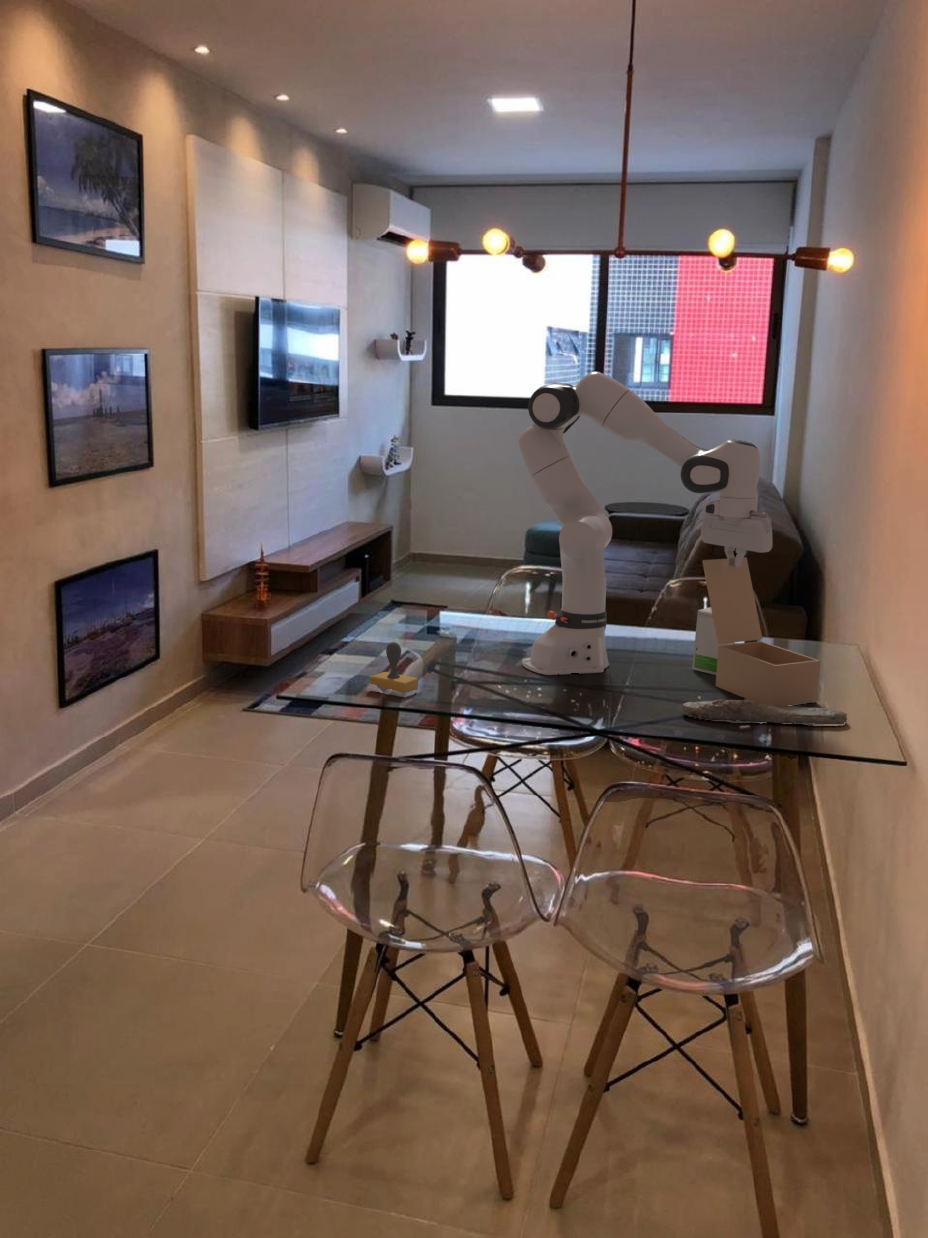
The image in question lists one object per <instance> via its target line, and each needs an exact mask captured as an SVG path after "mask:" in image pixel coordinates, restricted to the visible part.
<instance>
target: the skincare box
mask: <svg viewBox="0 0 928 1238" xmlns="http://www.w3.org/2000/svg"><path fill="white" fill-rule="evenodd" d="M696 615H697V616H696V625H695V627H696V628H695V634H694V635H695V637H694V644H693V645H694V646H693V647H694V648H693V655H692V656H693V658H692V667H691V668H692V670H694V671H697V672H698V671H699V672H702V673H706V674H710V675H715V676H716V673H717V659H718V646H722V645H732V644H736V642H733V643H723V644H718V643H717V637H716V632H715V626H714V621H713V616H712V610H711V606H709V607H706V608H701V609H698V610H697V614H696Z"/></svg>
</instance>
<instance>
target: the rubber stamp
mask: <svg viewBox="0 0 928 1238" xmlns="http://www.w3.org/2000/svg"><path fill="white" fill-rule="evenodd" d="M385 651H386V657H387V661H388V663H389V665H390V672H389V671H384V672H383V671H382V672H379V673H377V674H374V675H370V676H369V684H370V683H371V684H375V685H377V686H380V687H382V688H388V689H392V690H396V691H399V692H402V693H405V692H410V691H413V690H418V691H419V687H418V686H419V684H418V683H419V679H418V677H415V676H414V677H413V676H409V675H403V674H399V673H398V672H397V667H398V664H399V662H400V659H401V655H402V647H401V645H400V644H399V643H398V642H396V641H391V642H389V643H388V644H387V646H386V649H385Z"/></svg>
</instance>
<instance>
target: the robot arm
mask: <svg viewBox="0 0 928 1238" xmlns="http://www.w3.org/2000/svg"><path fill="white" fill-rule="evenodd" d="M527 411H528V414H529V415H528V416H530V419H531V421H532V422H533V423H532V425H531V426H529V427H527V428H526V429H525V430H524V431H523V432H522V433H521V434H520V436H519V438H518V446H519V449H520V452H521V456H522V458H523V460H524V463H525V466H526V468H527V471H528V472H529V475H530V477H531V479H532V481H533V482H534V484H535V486H536V488H537V490H538V492H539V494H540V497H541V498H542V500H543V502H544V503H545V505H546V507H548V508H549V509H550V510H551V512H552V513H553V514H554V516H555V517H556V519H557V520H558V522H559V523H560V524H561V529H560V531H559V536H558V544H559V554H560V555H559V556H560V564H561V566H560V567H561V575H562V587H561V588H562V589H561V594H562V595H561V608H560V610H559V611H558V612H556V611H554V610H549V611H548V612H547V617H548V619H550V620H555V621H554V624H553V625H552V626H551V627H550V628H549V629H547V630H546V631H544V632H543V633H542V634H541V635H540V636H538V638H536V639H535V640H534V642H533V644H532V647H531V653H530V657H526V658H523V659H522V660H521V665H522V666H523V667H524V668H525V669H527V670H529V671H532V672H534V673H537V674H542V675H545V676H557V675H558V674H559V675H572V674H571V673H579V674H595V673H596V674H597V673H599V674H600V673H603V672H604V670H605V669H607V668H608V667H609V666H610V662H609V659H608V654H607V647H606V632H605V631H606V629H607V610H606V595H607V594H606V593H607V578H606V567H605V549H606V547H608V545H609V543H610V542H611V540H612V537H613V526H612V523H611V521H610V519H609V518H608V517H607V515H606V514H605V512H604V510H603V508H602V507H601V505H600V504H599V502H598V501H597V499H596V498H595V496H594V495H593V493H592V492H591V490H590V489H589V488H588V486H587V485H586V483H585V481H584V479H583V477H582V475H581V473H580V472H579V469H578V467H577V466H576V464H575V462H574V460H573V458H572V456H571V454H570V452H569V450H568V448H567V447H566V444H565V441H564V436H563V435H564V434H565V433H567V431H569V429H570V428H571V427H572V426H573V425H574V424H575V423H576V422H577V421H578V420H579V418H580V417H582V416H584V417H586V418H589V419H591V420H592V421H594V422H596V424H598V425H599V426H600V427H602V428H603V429H604V430H605V431H607V432H608V433H610V434H611V435H613V436H615V437H617V438H618V439H620V440H622V441H625V442H628V443H629V442H630V443H634V444H635V443H636V444H640V445H644V446H648V447H650V448H652V449H653V450H656V451H657V452H658V453H659V454H661V455H663V456H664V457H665V458H666V459H668V460H669V461H671V462H672V463H674V464H675V465H676V466H678V467H679V468H681V469H680V480H681V483H682V485H683V487H684V488H686V489H687V490H688V491H689V492H691V493H694V494H698V495H706V494H709V493H712V492H719V500H716V501H712V502H710V503H706V504H704V505H703V508H702V511H703V514H704V515H703V517H702V520H701V526H700V527H701V529H700V539H701V540H702V543H704V544H709V545H715V546H720V547H721V546H722V547H724V548H723V549H724V553H725V556H726V559H728V562H727V564H728V565H729V566H734V567H741V564H742V559H743V558H745V556H746V554H747V551H749V552H755V553H761V554H762V553H769V552H770V551H771V550H772V549H773V528H772V518H771V517H770V515H768V513H767V512H760V511H758V501H759V493H758V483H759V481H760V475H761V474H760V473H761V471H760V468H761V465H760V463H761V459H760V458H761V457H760V451H759V448H758V447H757V446H756V445H755V444H754V443H752V442H749V441H745V440H741V439H733V438H732V439H731V438H730V439H727V440H726V441H724V442H723V443H722V444H719V445H718V446H715V447H714V448H711V449H706V448H701V447H699V446H697V445H695V444H693V443H692V442H691V441H689V440H688V439H686V438H685V437H683V436H682V435H681V434H679V433H678V432H677V431H675V430H673V428H671V427H670V426H668V425H667V424H666V423H665V422H664V421H663V419H661V417H659V416H658V415H657V413H655V411H654V410H653V409H652V408H651V407H650V406H649V405H648V404H647V403H646V401H644V400H643V399H642V398H641V397H640V396H639V395H638V394H637V393H635V392H634V391H632V390H631V389H630V388H629V387H627V386H626V385H624V384H623V383H621V382H619V381H618V380H617V379H614V378H613V377H611V376H609V375H606V374H605V373H602V372H600V371H592V372H589V373H587V374H586V375H585V376H584V377H582V378H581V379H580V381H579V382H578V383H577V384H576V385H575V386H573V385H571V384H570V383H562V382H551V383H549V384H546V385H542V386H540V387H539V388H537V389H536V390H535V391H534V392H533V393H532V395H530V398H529V400H528V406H527ZM734 551H735V553H736V556H735V554H734Z"/></svg>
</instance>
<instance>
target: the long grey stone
mask: <svg viewBox="0 0 928 1238" xmlns="http://www.w3.org/2000/svg"><path fill="white" fill-rule="evenodd" d="M681 712H682V714H683V715H685V716H687V717H688V718H690V717H694V718H693V719H696V718H699V719H698V720H702V719H708V720H732V721H736V720H740V721H753V722H770V723H774V724H776V723H779V724H782V723H792V725H793V724H794V723H815V724H844V722H846V723H847V720H848V717H847V715H848V714H847V713H846V712H843V711H840V710H835V709H829V708H825V707H807V706H799V705H798V706H773V705H766V704H761V703H756V701H753V700H750V699H746V698H744V699H716V700H705V701H704V700H703V701H702V700H701V701H688V702H684V703H683V704H682V706H681Z"/></svg>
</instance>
